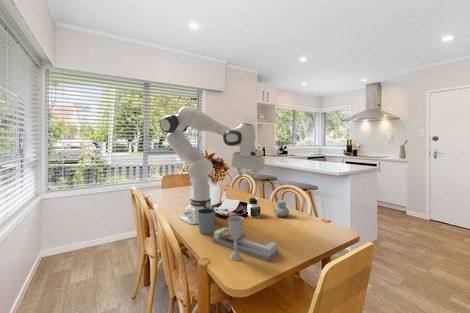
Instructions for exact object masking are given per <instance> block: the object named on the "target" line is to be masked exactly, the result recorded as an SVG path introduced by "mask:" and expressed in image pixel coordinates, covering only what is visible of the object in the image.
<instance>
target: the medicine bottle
mask: <svg viewBox="0 0 470 313" xmlns="http://www.w3.org/2000/svg"><path fill="white" fill-rule="evenodd" d="M246 209H247V212H248V214H247V215H248V217H250V218H259V217H261V206H260V204H259V199H258V198H257V197H250V198H249V203H247V208H246ZM247 212H246V213H247Z"/></svg>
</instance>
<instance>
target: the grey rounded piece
mask: <svg viewBox="0 0 470 313" xmlns="http://www.w3.org/2000/svg"><path fill="white" fill-rule="evenodd" d="M286 203H287V202H286V201H285V200H281V199H279V200H277V201H276V207H274V208H273V210H272V212H273V214H274V215H275V216H276V217H281V218H284V217H287V216H288V215H289V214H290V210H289V208H287V206H286V205H287V204H286Z"/></svg>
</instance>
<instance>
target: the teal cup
mask: <svg viewBox="0 0 470 313" xmlns="http://www.w3.org/2000/svg"><path fill="white" fill-rule="evenodd" d="M197 213H198V221H199V224H198V232H199V233H200V234H202V235H211V234H214V232H215V231H216V230H215V228H216V225H215V223H216V220H215V219H216V209H214V208H205V209H200V210H198V211H197Z"/></svg>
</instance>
